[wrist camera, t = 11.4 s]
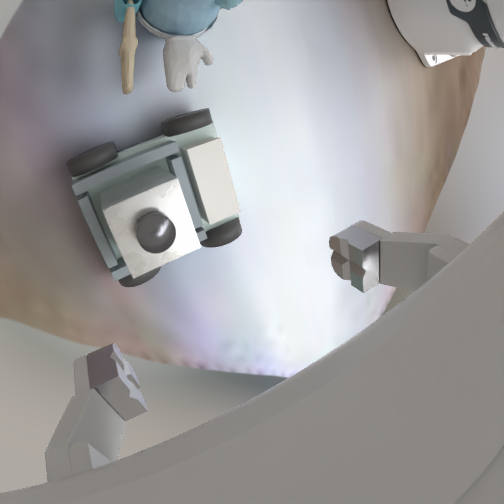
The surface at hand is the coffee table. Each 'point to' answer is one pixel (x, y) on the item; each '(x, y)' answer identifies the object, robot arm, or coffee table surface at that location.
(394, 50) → the coffee table surface
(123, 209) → the cube with round knob
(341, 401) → the robot arm
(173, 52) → the toy figure
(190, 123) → the chassis
